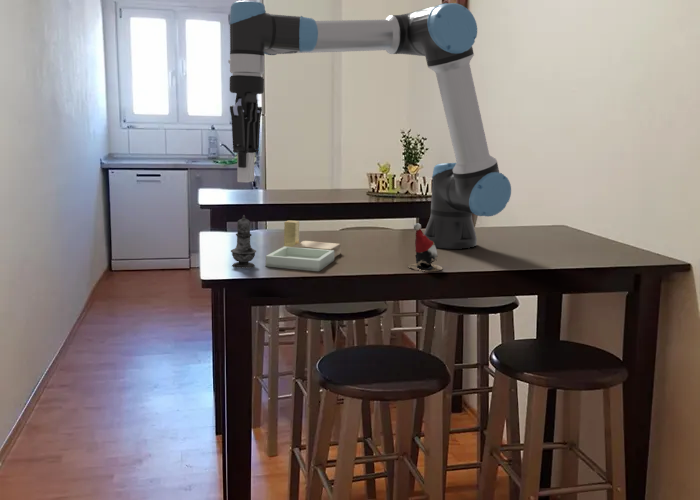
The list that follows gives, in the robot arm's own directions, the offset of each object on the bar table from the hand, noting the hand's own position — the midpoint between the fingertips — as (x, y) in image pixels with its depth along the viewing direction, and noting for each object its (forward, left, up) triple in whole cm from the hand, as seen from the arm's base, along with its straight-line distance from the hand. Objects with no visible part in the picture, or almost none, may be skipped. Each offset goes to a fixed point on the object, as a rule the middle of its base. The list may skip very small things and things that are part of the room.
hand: (245, 181), depth 161 cm
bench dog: (-5, -20, -20) cm, 28 cm away
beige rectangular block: (-11, -20, -20) cm, 30 cm away
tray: (-11, -8, -20) cm, 24 cm away
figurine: (-40, -15, -20) cm, 47 cm away
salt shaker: (0, 0, -20) cm, 20 cm away
